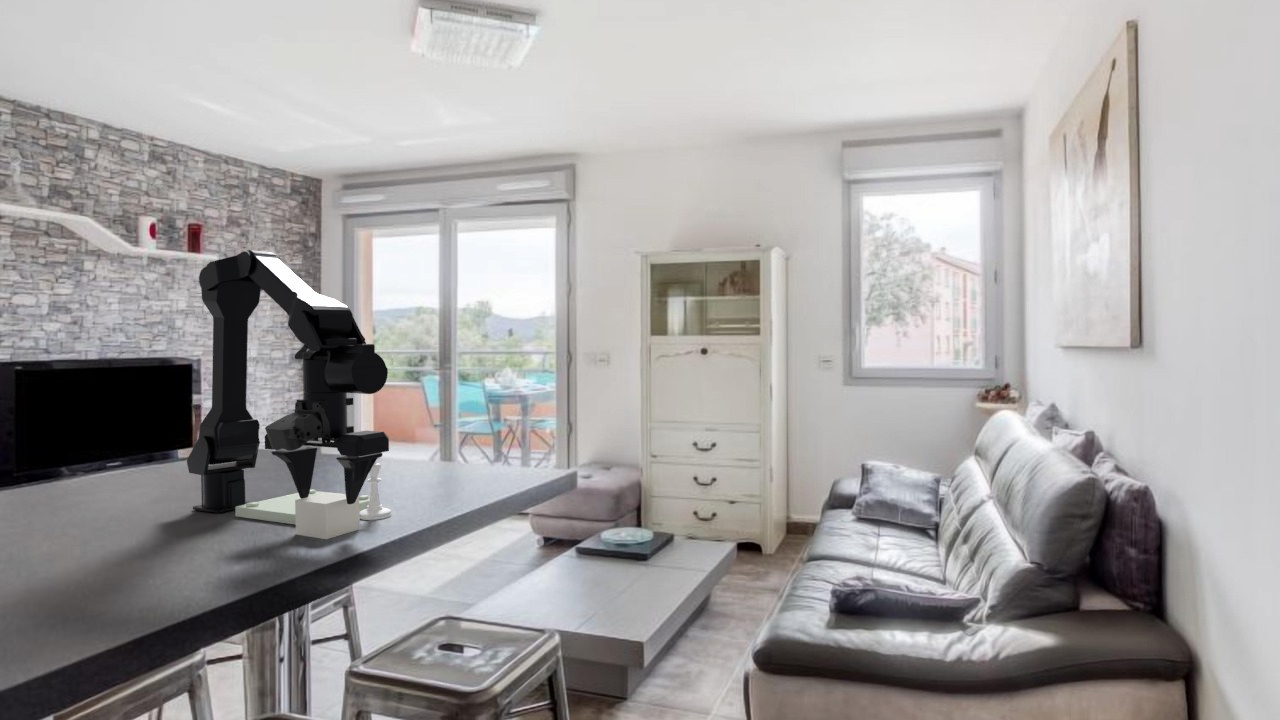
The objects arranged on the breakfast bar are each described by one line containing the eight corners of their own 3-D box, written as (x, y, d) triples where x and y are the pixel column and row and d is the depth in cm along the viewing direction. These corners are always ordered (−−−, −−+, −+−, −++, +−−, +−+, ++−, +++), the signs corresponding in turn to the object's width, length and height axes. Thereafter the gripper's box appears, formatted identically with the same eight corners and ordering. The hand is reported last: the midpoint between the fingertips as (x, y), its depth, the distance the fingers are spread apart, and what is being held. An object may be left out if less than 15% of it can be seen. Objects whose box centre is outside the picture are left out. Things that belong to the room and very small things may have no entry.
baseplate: (235, 516, 121) (235, 504, 120) (309, 499, 133) (309, 488, 133) (308, 526, 114) (308, 513, 113) (379, 507, 126) (379, 495, 126)
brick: (295, 535, 109) (295, 500, 109) (329, 525, 114) (329, 492, 114) (326, 540, 106) (325, 503, 106) (359, 530, 112) (359, 495, 112)
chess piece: (381, 520, 117) (380, 454, 117) (351, 519, 118) (350, 454, 118) (397, 513, 122) (396, 450, 122) (369, 512, 123) (368, 449, 123)
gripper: (229, 394, 107) (231, 506, 107) (327, 397, 99) (329, 519, 99) (296, 388, 117) (298, 491, 117) (390, 392, 109) (392, 502, 109)
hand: (327, 500), depth 110 cm, fingers open, 9 cm apart
